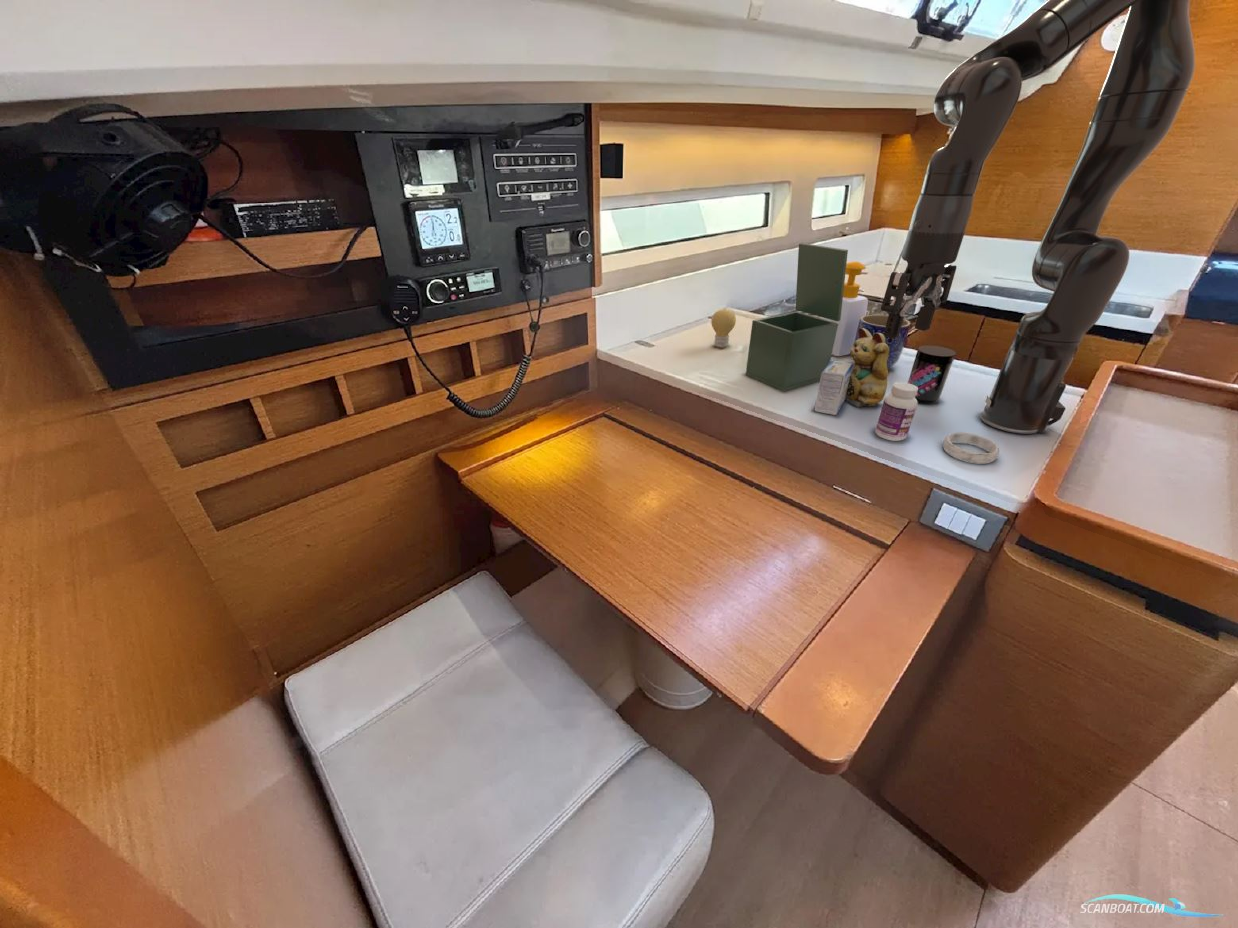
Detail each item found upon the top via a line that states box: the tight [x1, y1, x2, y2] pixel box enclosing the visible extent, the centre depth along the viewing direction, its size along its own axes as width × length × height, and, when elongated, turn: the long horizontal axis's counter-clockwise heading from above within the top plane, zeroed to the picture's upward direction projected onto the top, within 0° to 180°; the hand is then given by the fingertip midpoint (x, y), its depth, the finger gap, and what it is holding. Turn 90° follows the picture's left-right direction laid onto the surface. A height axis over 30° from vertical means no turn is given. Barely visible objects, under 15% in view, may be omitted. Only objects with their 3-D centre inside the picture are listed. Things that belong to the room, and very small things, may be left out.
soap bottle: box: [819, 261, 869, 357], centre depth 129 cm, size 10×14×22 cm
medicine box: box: [814, 359, 853, 416], centre depth 101 cm, size 8×4×9 cm, turn 148°
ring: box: [942, 432, 1000, 465], centre depth 86 cm, size 8×8×2 cm
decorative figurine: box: [845, 328, 889, 408], centre depth 101 cm, size 10×8×15 cm
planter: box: [854, 314, 911, 370], centre depth 120 cm, size 11×11×11 cm
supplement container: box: [907, 345, 957, 405], centre depth 103 cm, size 7×7×10 cm
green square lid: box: [794, 242, 849, 321], centre depth 109 cm, size 15×12×1 cm
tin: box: [745, 310, 838, 392], centre depth 114 cm, size 14×12×13 cm
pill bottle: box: [874, 381, 919, 442], centre depth 90 cm, size 5×5×10 cm
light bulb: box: [710, 308, 737, 349], centre depth 134 cm, size 6×6×10 cm
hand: (906, 333), depth 84 cm, fingers open, 8 cm apart
